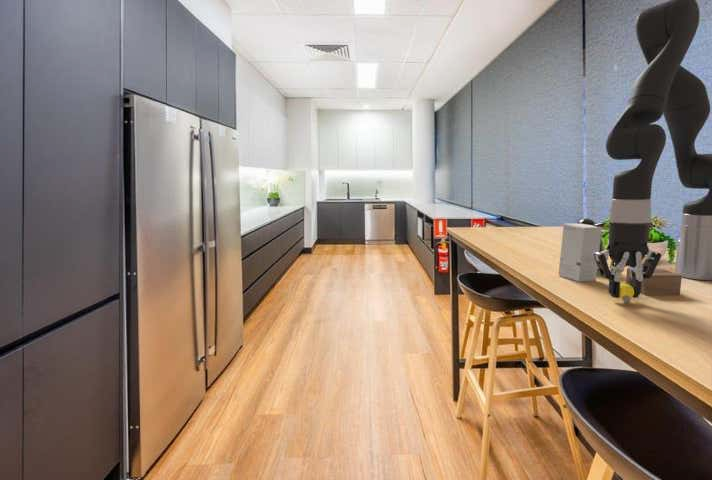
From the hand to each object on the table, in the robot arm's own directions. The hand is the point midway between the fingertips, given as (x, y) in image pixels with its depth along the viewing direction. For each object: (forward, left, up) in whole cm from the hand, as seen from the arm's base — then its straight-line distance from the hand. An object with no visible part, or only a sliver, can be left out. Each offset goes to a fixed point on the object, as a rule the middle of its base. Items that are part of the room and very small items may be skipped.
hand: (623, 296), depth 97 cm
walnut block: (-9, +12, -1) cm, 15 cm away
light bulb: (+1, 0, -1) cm, 2 cm away
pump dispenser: (-36, +9, -1) cm, 37 cm away
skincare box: (-23, +1, -1) cm, 23 cm away
